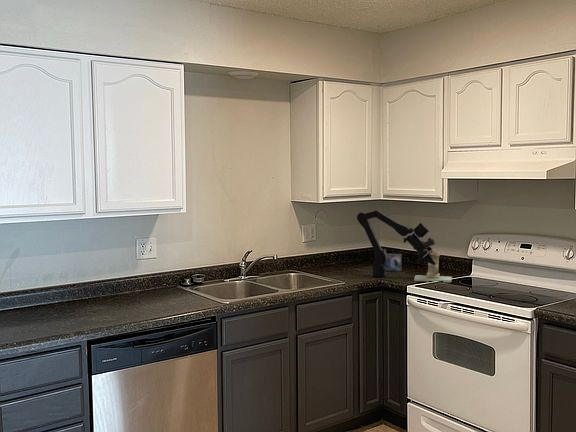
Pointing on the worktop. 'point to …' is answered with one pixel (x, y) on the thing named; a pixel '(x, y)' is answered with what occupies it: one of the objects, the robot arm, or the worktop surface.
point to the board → (432, 278)
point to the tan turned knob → (434, 268)
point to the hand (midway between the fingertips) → (435, 263)
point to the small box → (393, 263)
